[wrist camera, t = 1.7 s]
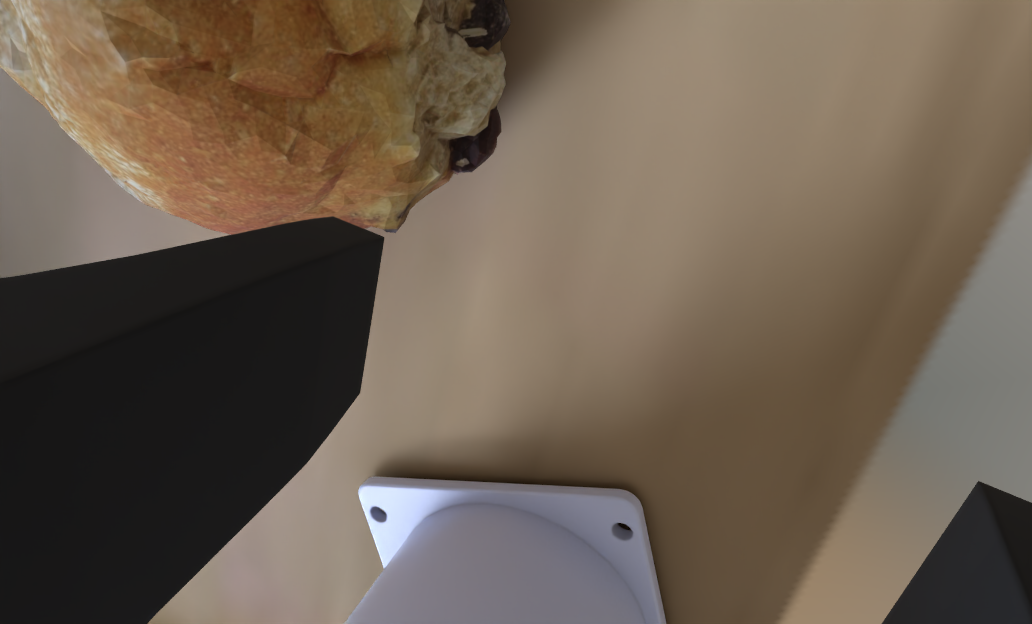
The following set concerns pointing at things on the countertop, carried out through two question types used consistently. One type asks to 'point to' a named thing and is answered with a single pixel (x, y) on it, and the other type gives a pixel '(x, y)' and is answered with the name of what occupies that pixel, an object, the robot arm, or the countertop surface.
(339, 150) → the bread roll
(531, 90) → the countertop surface
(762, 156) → the countertop surface
